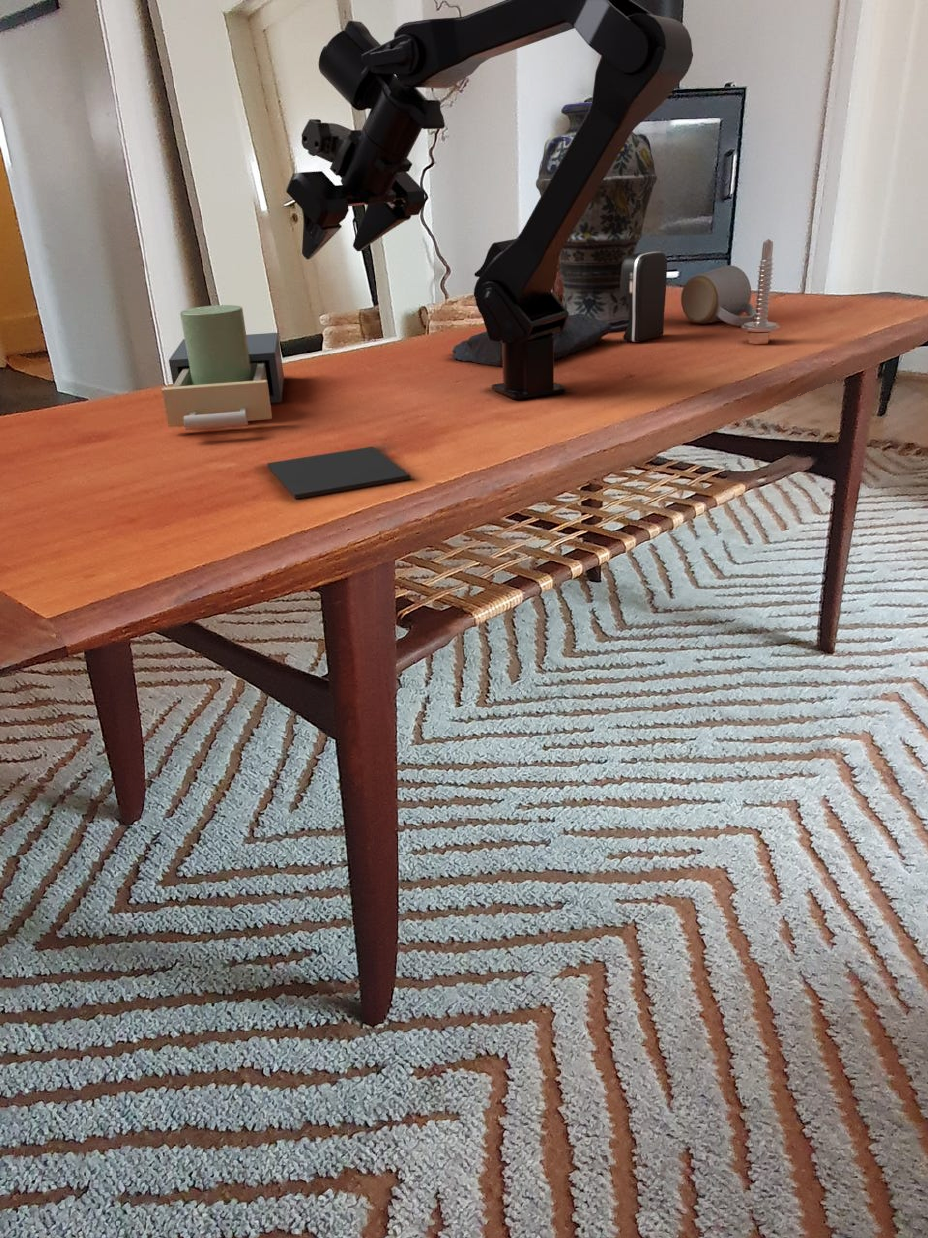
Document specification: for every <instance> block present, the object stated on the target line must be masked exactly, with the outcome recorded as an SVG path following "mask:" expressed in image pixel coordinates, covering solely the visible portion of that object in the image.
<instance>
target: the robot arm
mask: <svg viewBox="0 0 928 1238" xmlns="http://www.w3.org/2000/svg"><path fill="white" fill-rule="evenodd" d="M574 29H575V30H576V32H577V33H578V35H580V37H581V38H582V39H583V40H584V42H585V43H586V44H587V46H589V47H590V48H591V49H592V50H594V52H596V53H597V54H598V55H599V56H601V57H600V59H599V61H598V64H597V67H596V70H595V74H594V81H593V89H592V97H591V102H592V103H591V106H590V108H589V111H588V112H587V114H586V116H585V118H584V120H583V121H582V123H581V125H580V127H579V129H578V131H577V132H576V134H575V136H574V138H573V140H572V141H571V143H570V145H569V147H568V149H567V150H566V152H565V154H564V156H563V158H562V159H561V161H560V163H559V165H558V167H557V168H556V170H555V172H554V174H553V176H552V178H551V179H550V181H549V183H548V185H547V187H546V188H545V190H544V192H543V194H542V196H541V195H540V197H539V199H538V201H537V203H536V205H535V207H534V208H533V210H532V212H531V214H530V216H529V217H528V219H527V221H526V223H525V224H524V226H523V228H522V229H521V232H520V233H519V235H518V236H517V237H516V238H512V239H507V240H502V241H496V242H493V243H492V244H491V245H490V247H489V249H488V250H487V254H486V256H485V259H484V261H483V264H482V265H481V267H480V268H479V269H478V270H476V271H475V272H474V274H473V275H474V277H475V278H477V280H476V282H475V285H474V288H473V297H474V299H475V305H476V307H477V309H478V312H479V314H480V315H481V317H482V320H483V324H484V326H485V329H486V330H485V331H487V333H488V336H489V339H490V340H491V341H499V342H501V343H502V359H503V366H502V382H501V383H494V384H491V390H492V391H495V392H498V393H499V394H501V395H504V396H506V397H508V398H511V399H513V400H522V399H528V398H535V397H543V396H549V395H554V394H561V393H562V394H563V393H565V392H566V391H567V387H566V386H564V385H560V384H558V383H555V382H554V381H555V380H554V377H555V376H554V375H555V370H554V369H555V368H554V367H555V361H554V338H553V334H552V333H554V332H557V331H563V330H564V329H565V326H566V322H567V319H568V316H569V312H568V311H567V310H566V308H565V307H564V306H563V305H562V301H561V300H559V299H558V297H557V296H556V294H555V293H554V292H553V291H552V290H553V289H554V288H553V287H554V285H555V282H556V280H557V277H558V276H557V275H558V267H559V255H560V252H561V250H562V249H563V247H564V245H565V244H566V242H567V240H568V239H569V237H570V235H571V234H572V232H573V230H574V228H575V227H576V225H577V223H578V222H579V220H580V218H581V217H582V215H583V213H584V212H585V210H586V208H587V207H588V205H589V203H590V202H591V200H592V198H593V197H594V195H595V193H596V191H597V190H598V188H599V186H600V185H601V183H602V181H603V180H604V178H605V176H606V175H607V173H608V171H609V170H610V168H611V166H612V165H613V163H614V161H615V160H616V158H617V156H618V154H619V153H620V151H621V149H622V148H623V146H624V144H625V143H626V141H627V139H628V138H629V136H630V134H631V133H632V132H633V131H635V129H636V128H637V127H638V126H639V125H640V124H641V123H642V122H643V121H644V120H646V119H647V118H648V117H649V116H650V115H651V114H652V113H653V112H654V111H655V110H656V109H658V108H659V107H661V105H662V104H663V103H664V102H665V101H666V99H667V98H668V97H669V96H670V95H671V93H672V92H673V91H674V90H675V89H676V88H677V86H678V85H679V84H680V83H681V81H683V79H684V78H685V76H686V75H687V73H688V72H689V70H690V67H691V65H692V62H693V58H694V52H693V43H692V38H691V35H690V33H689V30H688V29H687V28H686V26H685V25H684V24H683V23H682V22H680V21H678V20H676V19H675V18H671V17H667V16H666V17H665V16H660V15H655V14H653V13H652V12H650V11H649V10H648V9H646V8H645V7H642V6H641V5H639V4H638V3H637V2H636V1H634V0H503V1H500V2H497V3H495V4H492V5H489V6H487V7H485V8H481V9H479V10H477V11H474V12H472V13H470V14H469V13H468V14H467V15H463V16H457V17H444V18H430V19H429V18H428V19H422V20H421V19H420V20H414V21H408V22H404V23H402V24H401V25H399V26H398V27H397V28H396V30H395V31H394V32H393V38H392V39H391V40H389V41H387V42H385V43H382V44H381V43H380V42H379V41H378V40H377V39H376V38H375V37H374V35H372V34H371V32H370V30H369V29H368V27H367V26H366V25H365V24H364V23H363V22H362V21H357V20H348V21H347V23H346V25H345V27H344V29H343V30H342V31H340V32H338V33H337V34H335V35H334V36H333V37H332V38H330V39H329V41H328V42H327V44H326V45H324V46H323V47H322V49H321V51H320V54H319V57H318V70H319V72H320V74H321V75H322V76H323V78H325V79H326V81H327V82H328V83H329V84H330V85H331V86H332V87H333V88H334V89H335V90H336V91H337V92H338V93H339V94H340V95H341V96H342V98H344V99H345V100H346V101H347V103H348V104H349V105H350V106H351V107H352V108H353V109H354V110H356V111H360V112H361V111H362V112H363V111H365V110H369V113H368V115H367V118H366V120H365V121H364V124H363V125H362V128H361V129H350V128H348V127H346V126H344V125H341V124H338V123H333V122H322V120H321V119H319V118H318V119H317V118H309V119H308V121H307V123H306V124H305V126H304V129H302V133H301V145H302V147H303V149H305V150H306V151H307V153H308V155H309V156H311V157H318V158H320V159H322V160H324V161H326V162H329V163H331V165H330V167H329V169H330V171H331V172H332V173H333V174H334V175H335V176H337V177H338V176H339V178H341V179H340V183H341V184H338V185H337V184H334V182H332V180H331V179H330V178H329V177H328V176H327V175H326V173H324V171H323V170H319V171H304V172H303V171H302V172H301V171H300V172H296V173H292V175H291V177H290V179H289V181H288V184H287V186H286V190H285V191H286V193H287V195H288V196H290V198H291V200H293V201H294V203H296V204H297V205H298V207H300V209H301V212H302V219H303V225H302V241H301V242H302V243H301V255H302V256H303V257H304V258H305V259H306V260H311V259H312V258H313V257H314V256H315V255H316V254H317V253H318V252H319V251H320V250H322V248H323V247H324V246H325V245H326V244H327V243H328V242H329V241H330V240H331V239H332V238H333V237H334V236H335V235H336V234H337V233H338V232H339V231H340V230H341V229H342V228H343V225H341V223H342V222H343V221H344V220H345V219H346V218H347V215H348V213H349V211H350V209H349V207H358V206H366V209H365V210H364V214H363V216H362V219H361V222H360V224H359V227H358V228H357V232H356V234H355V237H354V240H353V242H352V243H353V244H352V247H353V249H354V250H356V252H357V253H358V252H361V251H363V250H364V249H366V248H367V247H368V246H370V245H371V244H373V243H375V242H376V241H377V240H379V239H380V238H381V237H383V236H384V235H386V234H388V233H389V232H390V231H393V230H394V229H395V228H396V227H398V226H400V225H401V224H403V223H405V222H407V221H409V220H410V219H411V218H412V216H418V215H420V214H421V211H422V210H423V208H424V206H425V204H426V196H425V195H426V194H425V190H424V189H423V188H422V187H421V186H420V185H419V183H417V182H416V181H415V179H414V178H413V177H412V176H411V175H410V174H409V173H408V172H410V170H411V168H412V166H413V163H412V161H411V160H410V159H409V155H410V153H411V152H412V149H413V147H414V145H415V144H416V142H417V139H418V138H419V136H420V134H421V131H422V130H442V129H444V128H445V126H446V122H445V118H444V115H443V112H442V110H441V101H440V100H439V99H427V97H426V96H425V95H424V94H423V93H422V92H421V91H420V90H419V89H418V88H420V89H421V88H422V89H448V88H451V87H453V86H454V85H457V84H458V83H460V82H461V81H463V80H464V79H466V78H467V77H469V76H471V75H472V74H473V73H474V72H475V71H476V70H477V69H478V68H479V67H480V65H482V64H483V63H485V62H486V61H488V60H490V59H492V58H494V57H498V56H500V55H503V54H506V53H509V52H512V51H515V50H517V49H520V48H523V47H526V46H528V45H532V44H535V43H537V42H539V41H543V40H546V39H548V38H552V37H555V36H557V35H560V34H563V33H566V32H569V31H571V30H574Z"/></svg>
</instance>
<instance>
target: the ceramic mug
mask: <svg viewBox="0 0 928 1238" xmlns="http://www.w3.org/2000/svg"><path fill="white" fill-rule="evenodd" d="M751 299H752V287H751V283H750V279H749V277H748V276H747V274H746V273H745V272H744V270H742V269H741V268H739V267H738V266H737V265H736V266H735V265H724V266H721V267H717V268H714V269H710V270H707V271H703V272H700V273H698V274H696V275H694V276H692V277H691V278H689V280H687V281H686V283H685V284H684V285H683V288H682V290H681V296H680V305H681V308H682V311H683V313H684V315H685V316H686V318H687V319H689V320H690V321H691V322H693V323H696V324H701V325H702V324H705V325H706V324H711V323H716V322H721V321H723V322H724V323H726V324H728V325H732V326H735V327H742V326H743V325H744V324H745V323H748V322H754V320H755V319H754V318H755V314H754V313H756V310H755V307H754V305H752V303H751ZM744 313H745V314H746V316H743V314H744Z"/></svg>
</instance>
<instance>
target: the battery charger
mask: <svg viewBox="0 0 928 1238" xmlns="http://www.w3.org/2000/svg"><path fill="white" fill-rule="evenodd" d="M667 279H668V258H667V255H666V254H665V253H664V252H661V251H645V252H644V251H643V252H637V253H634V254H632V255H629V256H627V257H626V258H625V259H624V261H623V263H622V267H621V278H620V294H621V295H627V301H628V303H629V323H628V327H627V330H625V332H624V334H623V335H622V339H623V340H624V341H628V342H629V341H630V342H633V343H638V342H643V341H644V342H645V341H648V340H652V339H655V338H657V337H660V336H662V335H664V331H665V330H664V328H665V327H664V326H665V309H666V297H667V295H666V294H667V281H668V280H667Z"/></svg>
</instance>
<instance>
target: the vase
mask: <svg viewBox="0 0 928 1238" xmlns="http://www.w3.org/2000/svg"><path fill="white" fill-rule="evenodd" d="M591 103H592V101H587V102H576V103H568V104H567V103H566V104H564V105H563V106H562V108H561V114H563V115H565V116H566V117H567V118H568V120H569V126H568V129H567V130H566V132H565V133H564V134H562V135H552V136H550V137H549V138H548V139H547V140H546V141H545V144H544V147H543V154H542V159H541V161H540V163H539V164H540V165H539V168H538V175H537V179H536V180H535V187H536V189H537V190H538V192H539V195H540V197H541V196H542V194H543V192H544V190H545V188H546V187H547V185H548V183H549V181H550V179H551V178H552V176H553V174H554V172H555V170H556V168H557V167H558V165H559V163H560V161H561V159H562V158H563V156H564V154H565V152H566V150H567V149H568V147H569V145H570V143H571V141H572V140H573V138H574V136H575V134H576V132H577V131H578V129H579V127H580V125H581V123H582V121H583V120H584V118H585V116H586V114H587V112H588V111H589V108H590V106H591ZM655 167H656V166H655V161H654V157H653V155H652V148H651V143H650V140H649V139H648V137H647V136H646V135H645V134H643V133H639V134H636V133H634V132H633V131H632V133H631V134H630V136H629V138H628V139H627V141H626V143H625V144H624V146H623V148H622V149H621V151H620V153H619V154H618V156H617V158H616V160H615V161H614V163H613V165H612V166H611V168H610V170H609V171H608V173H607V175H606V176H605V178H604V180H603V181H602V183H601V185H600V186H599V188H598V190H597V191H596V193H595V195H594V197H593V198H592V200H591V202H590V203H589V205H588V207H587V208H586V210H585V212H584V213H583V215H582V217H581V218H580V220H579V222H578V223H577V225H576V227H575V228H574V230H573V232H572V234H571V235H570V237H569V239H568V240H567V242H566V244H565V245H564V247H563V249H562V250H561V252H560V255H559V258H558V261H559V265H560V269H559V271H560V272H559V274H560V277H561V282H562V291H563V292H562V298H561V299H562V300H561V303H562V305H563V306H564V307H565V308H566V310H567V311H568V312H569V315H574V314H578V313H581V314H583V315H585V316H590V318H594V319H598V320H600V321H605V322H608V323H609V324H610V325H611V331H610V332H609V333H615V332H622V331H626V330H627V327H628V323H629V303H628V301H627V295H621V294H620V278H621V267H622V263H623V261H624V259H625V258H626V257H627V256H629V255H632V254H635V252H636V248H637V245H638V244H639V242H640V240H641V239H642V238H643V233H642V231H643V226H644V222H645V217H646V214H647V211H648V207H649V203H650V199H651V196H652V194H653V189H654V186H655V185H656V184H657V181H658V176H657V174H656V170H655Z"/></svg>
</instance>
